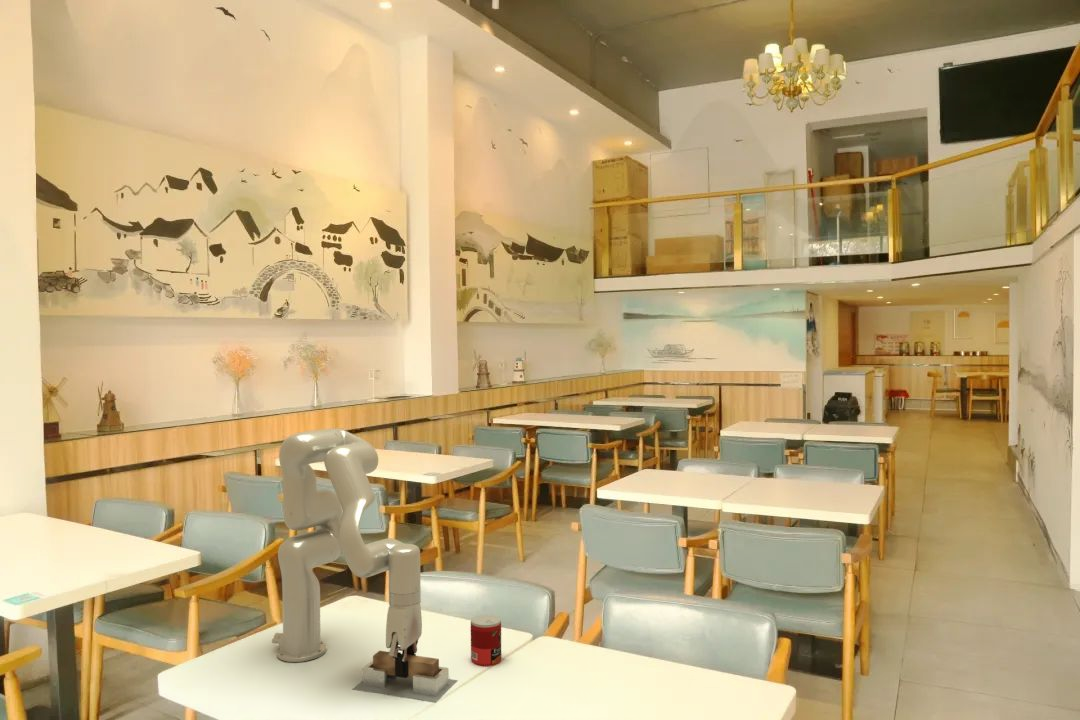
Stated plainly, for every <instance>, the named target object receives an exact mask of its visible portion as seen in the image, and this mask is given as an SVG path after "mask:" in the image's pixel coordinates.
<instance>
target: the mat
mask: <svg viewBox="0 0 1080 720" xmlns="http://www.w3.org/2000/svg"><path fill="white" fill-rule="evenodd" d="M457 682H458V679H452V678H449V685H448V686H447V687H446V688H444V689H443V690H442V691H441V692H440V693H439V694H438V695H437V696H436V697H435V696H429V695H423V694H416V693H413V678H408V677H407V678H402V677H398V678H390V677H387V687H386V688H379V687H372V686H366V685H362V681H360V682H359V683H357V685H355V686H354V687H353V688H352V690H354V691H360V692H367V693H373V694H378V695H379V694H380V695H384V696H385V695H386V696H390V697H391V696H392V697H398V698H402V699H403V698H404V699H409V700H416V701H420V702H428V703H434V704H436V703H437V702H439V700H440V699H441V698H442V697H443V696H445V694H446V693H447V692H448V691H449V690H450V689H451V688H452V687H453V686H455V684H456V683H457Z"/></svg>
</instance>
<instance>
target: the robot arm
mask: <svg viewBox="0 0 1080 720" xmlns="http://www.w3.org/2000/svg"><path fill="white" fill-rule="evenodd" d="M378 455H379V454H378V452H377V450H376V448H375V447H374V446H373V445H372V444H370V442H369V441H366V440H364V439H363V438H361V437H359V436H357V435H355V434H353V433H351V432H349V431H347V430H344V429H343V428H336V427H335V428H326V429H325V428H324V429H316V430H307V431H302V432H297V433H294V434H291V435H289V436H287V437H286V438H285V439H284V440H283V442H282V443H281V444H280V448H279V453H278V461H279V467H280V470H281V475H282V501H283V502H282V503H283V505H282V506H283V507H282V508H283V521H284V524H285V526H286V527H287V528H288V529H289V530H291V531H303V530H308V529H311V528H315V530H312V531H307V532H303V533H299V534H296V535H293V536H290V537H288V538H286V539H285V540H284V541H283V542H281V544H280V545H279V547H278V551H277V558H278V564H279V565H278V566H279V568H280V574H281V584H282V585H281V586H282V587H281V589H282V593H281V594H282V633H281V632H276V633H274V636H273V638H272V644H279V648H278V649H277V650H276V657H277V659H279V660H281V661H282V662H288V663H302V662H306V661H307V662H308V661H311V660H315V659H317V658H319V657H321V656H323V655H324V654H325V653H326V652H327V643H326V642H324V641H322V640H321V586H320V585H321V584H320V582H319V579H318V578H317V576H316V574H315V573H314V570H313V569H315V568H317V567H320V566H323V565H326V564H329V563H332V562H334V561H336V560H337V559H338V558H339V557H340V556H341V554H342V555H343V558H344V560H345V562H346V564H347V566H348V568H349V570H350V571H351V573H352V574H354V575H355V576H356V577H358V578H361V579H367V578H369V577H372V576H376V575H378V574H380V573H381V574H382V573H385V572H388V608H387V615H386V626H385V648H387V649H389V652H390V653H389V656H391V657H393V658H394V661H395V676H396V677H402V678H407V677H408V660H406V656H407V654H408V655H415V656H417V652H418V643H419V639H420V638H421V636H422V633H423V623H422V621H423V620H422V617H423V616H422V610H421V609H422V607H421V602H422V601H421V600H422V599H421V595H422V593H421V591H422V590H421V549H420V547H419V546H418V545H416V544H413V543H404V542H402V541H400V540H398V539H395V538H391V537H389V538H383V539H380V540H376V541H373V542H369V543H367V544H366V543H365V542H364V540H363V538H362V537H363V536H362V534H361V530H360V522H361V521H360V520H361V517H362V515H363V514H364V512H365V510H367V509H368V508H369V507H371V506H372V505H373V503H374V502H375V500H376V494H375V492H374V490H373V487H372V485H371V482H370V480H369V478H368V476H367V475H368V474H371V473H374V472H375V471H376V470H377V467H378V465H379V456H378ZM323 462H324V467H325V470H326V472H327V475H328V478H329V480H330V481H331V484H332V487H333V489H334V490H332V489H328V488H321V489H317V476H316V473H315V470H313V467H312V466H311V465H310V464H315V463H323ZM399 651H400V652H399Z"/></svg>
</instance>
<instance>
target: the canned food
mask: <svg viewBox="0 0 1080 720" xmlns="http://www.w3.org/2000/svg"><path fill="white" fill-rule="evenodd" d="M470 660H471V663H472V664H473V665H476V666H479V667H491V666H495V665H498V664H499V663H501V661H502V619H501V617H499V616H497V615H495V614H479V615H475V616H473V617H472V618H471V619H470Z"/></svg>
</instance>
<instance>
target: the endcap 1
mask: <svg viewBox="0 0 1080 720" xmlns="http://www.w3.org/2000/svg"><path fill="white" fill-rule="evenodd" d="M361 670H362V671H361V673H362V675H361V676H362V681H361V682H362V685H366V686H372V687H379V688H386V687H387V677H390V678H398V677H396V676H395V675H389V674H387V670H383V669H377V668H373V660H372V661H370V662H369V663H368V664H367V665H365V666H364V667H362V669H361Z"/></svg>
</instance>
